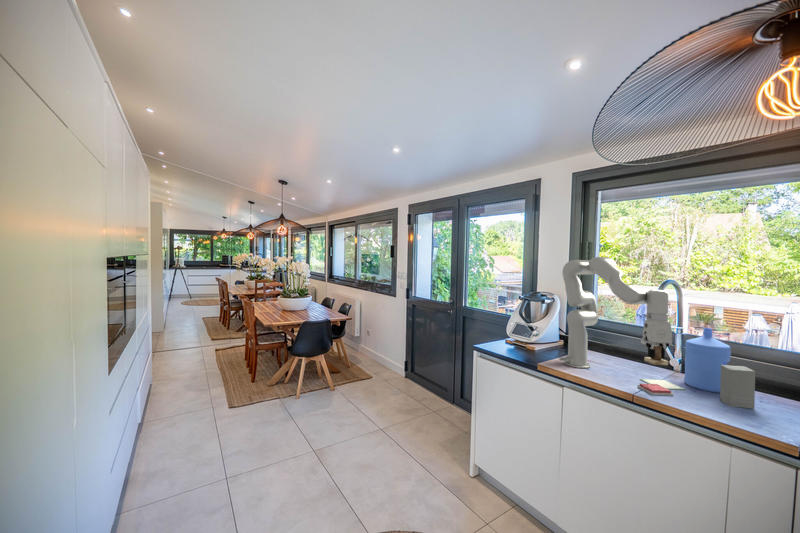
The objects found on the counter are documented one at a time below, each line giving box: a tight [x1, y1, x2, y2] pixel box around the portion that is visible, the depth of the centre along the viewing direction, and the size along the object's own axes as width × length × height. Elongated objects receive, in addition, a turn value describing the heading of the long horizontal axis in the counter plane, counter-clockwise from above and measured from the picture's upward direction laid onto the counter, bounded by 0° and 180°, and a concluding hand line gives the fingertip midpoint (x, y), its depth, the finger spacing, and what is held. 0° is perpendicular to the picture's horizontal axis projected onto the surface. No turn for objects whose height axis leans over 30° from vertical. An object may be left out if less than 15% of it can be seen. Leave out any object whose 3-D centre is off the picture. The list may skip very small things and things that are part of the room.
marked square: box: [639, 378, 686, 391], centre depth 152 cm, size 12×12×1 cm
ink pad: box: [637, 383, 674, 397], centre depth 144 cm, size 9×9×2 cm
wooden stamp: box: [643, 344, 669, 367], centre depth 143 cm, size 6×6×8 cm
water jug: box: [683, 327, 732, 394], centre depth 151 cm, size 16×16×28 cm
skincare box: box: [719, 364, 756, 410], centre depth 131 cm, size 8×7×16 cm
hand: (656, 357), depth 143 cm, fingers closed on wooden stamp, 3 cm apart
